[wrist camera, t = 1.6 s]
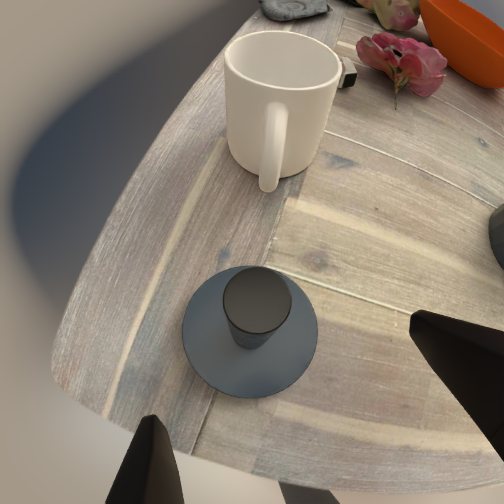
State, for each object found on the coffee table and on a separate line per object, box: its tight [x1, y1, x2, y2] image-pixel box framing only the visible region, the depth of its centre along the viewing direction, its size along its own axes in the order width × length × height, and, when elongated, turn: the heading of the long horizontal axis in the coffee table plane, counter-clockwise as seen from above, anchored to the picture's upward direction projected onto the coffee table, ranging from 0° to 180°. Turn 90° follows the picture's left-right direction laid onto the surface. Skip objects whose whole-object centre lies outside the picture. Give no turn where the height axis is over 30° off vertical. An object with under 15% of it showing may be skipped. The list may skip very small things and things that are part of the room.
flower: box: [356, 32, 447, 110], centre depth 30 cm, size 11×10×10 cm
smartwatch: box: [337, 56, 358, 88], centre depth 30 cm, size 4×2×4 cm, turn 24°
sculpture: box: [356, 0, 421, 31], centre depth 38 cm, size 15×8×10 cm
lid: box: [182, 266, 318, 398], centre depth 17 cm, size 9×9×11 cm
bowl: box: [419, 0, 504, 88], centre depth 34 cm, size 25×25×10 cm
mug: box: [224, 31, 342, 193], centre depth 22 cm, size 12×8×10 cm
